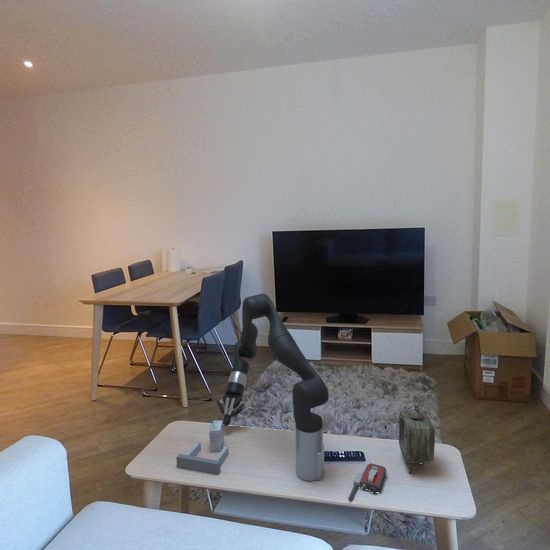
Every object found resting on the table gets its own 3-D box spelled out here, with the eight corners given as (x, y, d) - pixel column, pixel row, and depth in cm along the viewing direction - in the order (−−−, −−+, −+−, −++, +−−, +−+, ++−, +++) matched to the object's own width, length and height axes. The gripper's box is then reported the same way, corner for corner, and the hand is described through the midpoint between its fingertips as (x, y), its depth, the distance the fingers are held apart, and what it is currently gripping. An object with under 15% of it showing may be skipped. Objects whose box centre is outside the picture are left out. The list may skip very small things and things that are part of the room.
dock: (232, 454, 153) (231, 444, 153) (218, 474, 141) (217, 464, 141) (193, 448, 158) (193, 438, 157) (176, 467, 146) (176, 456, 145)
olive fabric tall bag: (398, 452, 153) (399, 388, 150) (423, 453, 152) (425, 389, 149) (406, 476, 139) (408, 406, 135) (434, 477, 138) (437, 407, 134)
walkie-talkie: (362, 467, 145) (346, 502, 127) (362, 455, 144) (346, 489, 127) (387, 473, 141) (374, 511, 123) (387, 461, 141) (374, 497, 123)
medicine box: (221, 451, 155) (221, 430, 154) (210, 452, 155) (209, 430, 154) (224, 440, 163) (223, 420, 162) (213, 440, 163) (212, 420, 162)
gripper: (219, 379, 175) (207, 419, 166) (248, 382, 172) (238, 424, 162) (224, 386, 181) (213, 425, 171) (253, 389, 177) (243, 430, 167)
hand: (225, 425), depth 167 cm, fingers closed
